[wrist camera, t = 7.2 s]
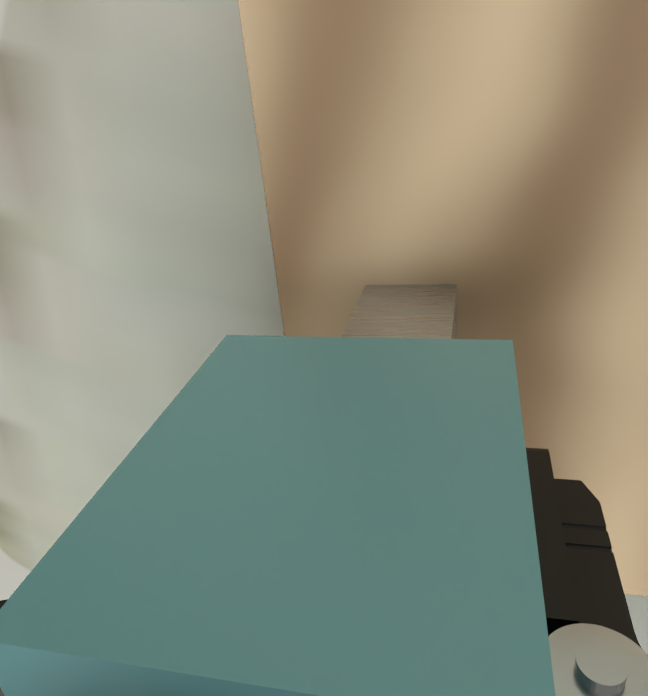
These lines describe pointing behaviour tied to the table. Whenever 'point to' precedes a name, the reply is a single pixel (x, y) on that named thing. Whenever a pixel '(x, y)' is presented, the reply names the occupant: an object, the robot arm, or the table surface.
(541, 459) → the robot arm
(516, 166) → the oak board
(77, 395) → the table surface
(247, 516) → the aqua square block
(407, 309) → the grey post
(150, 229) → the table surface
